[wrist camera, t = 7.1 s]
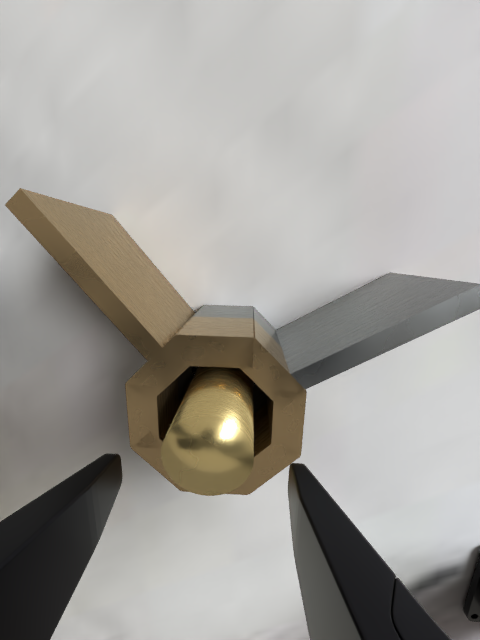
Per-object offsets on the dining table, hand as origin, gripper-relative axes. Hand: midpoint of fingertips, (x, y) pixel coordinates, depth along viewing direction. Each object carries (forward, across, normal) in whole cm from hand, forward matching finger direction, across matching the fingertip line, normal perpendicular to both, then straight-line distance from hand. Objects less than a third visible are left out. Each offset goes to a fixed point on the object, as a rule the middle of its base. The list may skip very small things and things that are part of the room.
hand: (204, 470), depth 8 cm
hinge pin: (+8, 0, 0) cm, 8 cm away
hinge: (+8, -1, -2) cm, 9 cm away
